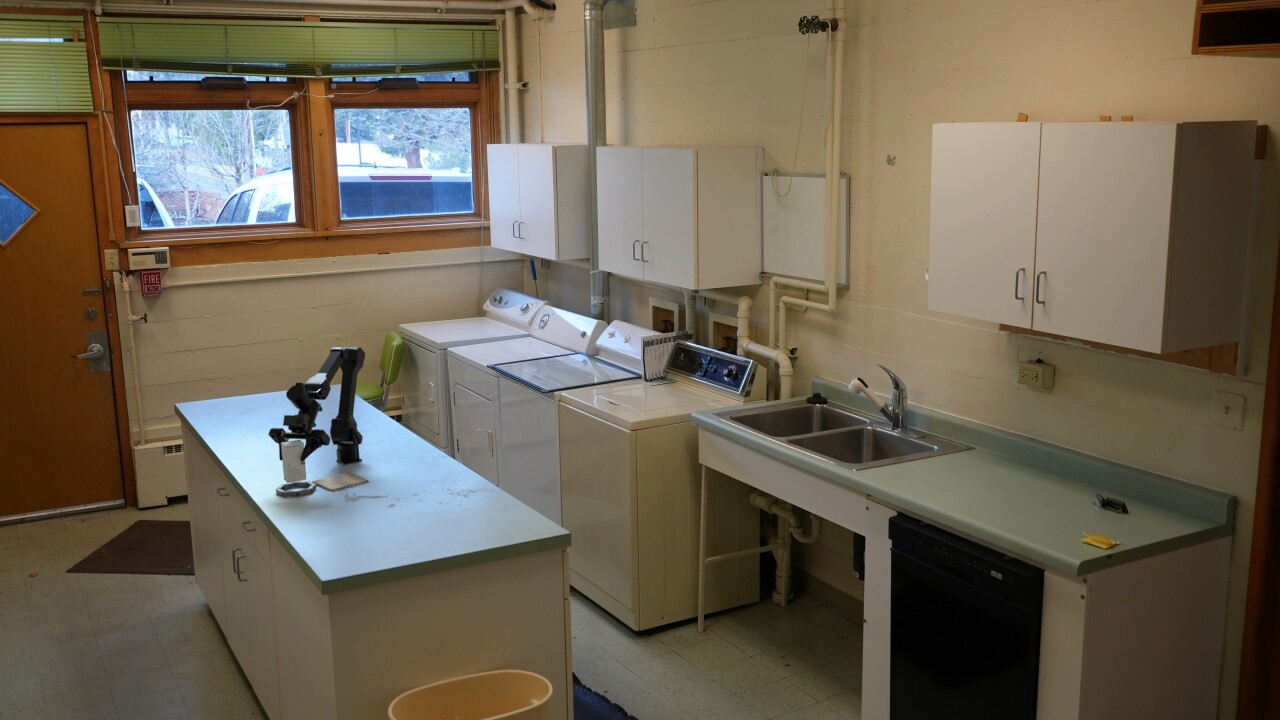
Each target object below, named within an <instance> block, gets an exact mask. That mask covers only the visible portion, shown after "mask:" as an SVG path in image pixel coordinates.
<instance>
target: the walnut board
mask: <svg viewBox="0 0 1280 720" xmlns="http://www.w3.org/2000/svg"><path fill="white" fill-rule="evenodd" d="M368 481H369V482H370V480H369V479H367V478H364V477H362V476H359V475H357V474H354V473H351V472H349V471H348V472H344V473H340V474H335V475H331V476H328V477H324V478H320V479H319V478H318V479H315V480H311V482H312V483H315V484H316V486H318V487H320V488H323V489H325V490H327V491H330V492H335V490H336V491H339V490H338V489H340V490H343V489H347V488H350V487H349V486H351V487H354V486H353V485H355V486H358V485H357V484H359V485H362V484H361V483H363V484H366V483H365V482H367V483H369V482H368ZM346 487H347V488H346ZM342 488H343V489H342Z"/></svg>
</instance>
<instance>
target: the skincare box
mask: <svg viewBox="0 0 1280 720" xmlns="http://www.w3.org/2000/svg"><path fill="white" fill-rule="evenodd" d="M304 447H305V444H304V441H302V439H294V440H289V441H288V442H282V443H281V448H282V473H283V480H284V481H285V482H286V483H290V482H296V481H307V469H306V468H307V467H306V459H305V460H304V461H303V462H301V460H300V459H301V455H302V453H303V450H304Z"/></svg>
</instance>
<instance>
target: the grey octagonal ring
mask: <svg viewBox="0 0 1280 720" xmlns="http://www.w3.org/2000/svg"><path fill="white" fill-rule="evenodd" d="M293 487H294V488H303V489H299V490H294V491H293V490H289V488H290V489H293ZM285 489H286V490H285ZM316 490H317V485H316V484H315V483H312V481H309V480H302V481H296V482H290V483H287V482H286V483H283V484H279V486H278V487H276V488H275V494H276V495H277V496H279V495H280V496H279V497H281V496H282V497H281V498H298V497H303V496H307V495H312V494H313V493H314V492H315V491H316Z"/></svg>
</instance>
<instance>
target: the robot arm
mask: <svg viewBox="0 0 1280 720" xmlns="http://www.w3.org/2000/svg"><path fill="white" fill-rule="evenodd" d="M365 359H366V353H365V351H364V349H363V348H362V347H359V346H358V347H356V346H355V347H354V346H342V347H337V346H336V347H332V348H330V350H329V354H328V356H327V357H326V359H325V361H324V362H323V364H322V365H321V367H320V369H319V370H318V372H317V373H316V374H315V375H313V376H312V377H309V378H308V379H307V381H306V382H305V383H303V381H302V382H301V381H300V382H299V381H296V383H295V385H292V386H291V387H290V388H289V389H288V390H287V391H286V393H285V394H286V399H287V400H289V402H291V404H292V405H293V407H295V408H296V409H297V410H298V412H297V414H294V415H293V414H292V415H288V414H287V415H286V414H285V415H284V417H283V423H282V426H283V427H287V429H288V430H289V432H288V431H286V430H285V429H284V428H283V427H272V428H270V429H269V432H268V433H267V435H268V436H269V438H271V440H273V442H275V443H276V444H278V451H279V453H278V455H279V456H278V457H279V461H282V448H281V443H282V442H288V441H290V440H305V444H304V450H303V453H302V455H301V459H300V460H301V462H303V461H304V460H305V461H306V459H307V458H309V456H311V454H313V453H314V452H316V450H318V449H319V448H322V446H326V447H327V446H329V445H330V443H331V442H332V445H333V446H337V447H336V448H337V449H336V460H335V462H337V463H341V464H343V465H349V464H354V463H357V462H362V461H363V459H362V458H360V448H359V445H362V443H363V437H364V436H363V435H362V434H361V433H360V432H359V429H358V423H357V420H356V419H355V417H354V412H355V411H354V409H355V401H356V392H357V391H356V390H357V381H358V374H359V372H360V371H361V370H362V368H363V367H364V363H365ZM339 370H341V371H342V375H341V385H340V392H339V393H340V394H339V403H338V413H337V416H336V417H335V418H332V419H331V420H330V423H331V424H330V428H329V434H328V433H327V432H326V430H324V429H317V428H316V427H317V423H316V419H317V417H318V414H319V412H321V413H322V412H323V407H322V406H321V402H319V401H320V400H321V401H324V400H327V398H328V397H329V394H330V392H331V389H332V388H331V382H332V380H333V379H334V377H335V376H336V374H337V372H338V371H339ZM314 428H316V429H314Z"/></svg>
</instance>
